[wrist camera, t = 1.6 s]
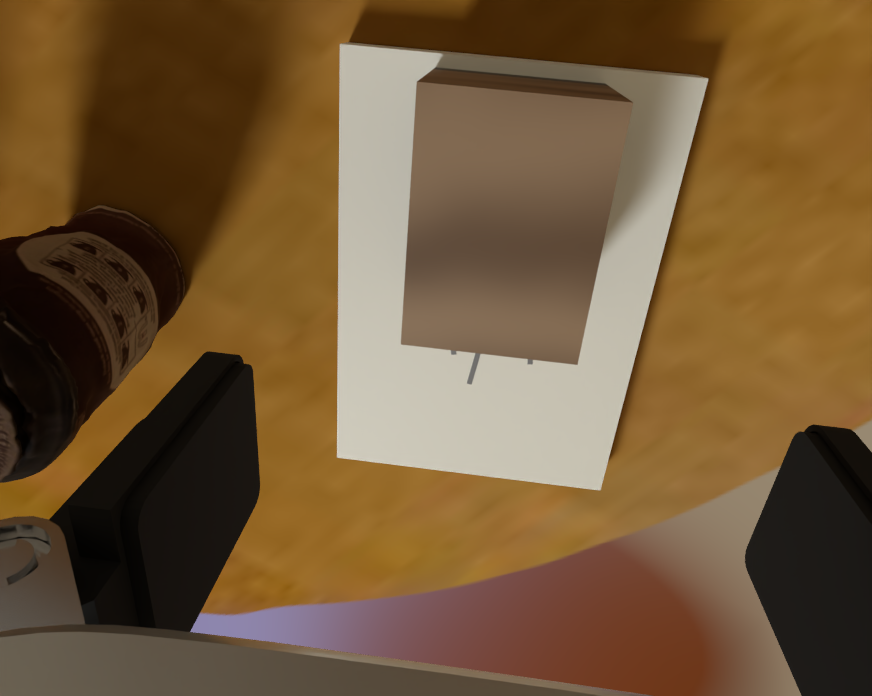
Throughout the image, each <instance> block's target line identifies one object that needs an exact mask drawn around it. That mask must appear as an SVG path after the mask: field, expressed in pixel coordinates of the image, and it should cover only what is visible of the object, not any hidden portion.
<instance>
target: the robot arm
mask: <svg viewBox="0 0 872 696" xmlns="http://www.w3.org/2000/svg"><path fill="white" fill-rule="evenodd" d="M259 490H260V477H259V461H258V445H257V429H256V412H255V396H254V380H253V369H252V367H251V365H249V364H244V363H243V360H242V357H241V356H240V355H234V354H225V353H217V352H206V353H204V354H203V355H202V356H201V357H200V358H199V360H198V361H197V362H196V363H195V364H194V365H193V366H192V367H191V368H190V369H189V371H188V372H187V373H186V374H185V375H184V376H183V377H182V378H181V379H180V380H179V382H178V383H177V384H176V385H175V386H174V387H173V388H172V389H171V390H170V391H169V393H168V394H167V395H166V396H165V397H164V398H163V399H162V400H161V401H160V402H159V404H158V405H157V406H156V407H155V408H154V409H153V410H152V411H151V412H150V413H149V415H148V416H147V417H146V418H145V419H143V420H141V421H140V422H139V423H138V424H136V426H135V427H134V428H133V429H132V430H131V431H130V432H129V433H128V434H127V435H126V436H125V438H124V439H123V440H122V441H121V442H120V443H119V444H118V445H117V446H116V447H115V448H114V450H113V451H112V452H111V453H110V454H109V455H108V456H107V457H106V458H105V459H104V460H103V462H102V463H101V464H100V465H99V466H98V467H97V468H96V469H95V470H94V471H93V472H92V474H91V475H90V476H89V477H88V478H87V479H86V480H85V481H84V482H83V483H82V484H81V486H80V487H79V488H78V489H77V490H76V491H75V492H74V493H73V494H72V495H71V496H70V498H69V499H68V500H67V501H66V502H65V503H64V504H63V505H62V506H61V507H60V508H59V510H58V511H57V512H56V513H55V514H54V515H53V516H52V517H51V518H50V519H49V520H48V519H44V518H39V517H34V516H28V517H12V518H7V519H3V520H0V696H650V695H644V694H637V693H629V692H622V691H616V690H609V689H602V688H595V687H588V686H582V685H575V684H568V683H561V682H553V681H547V680H540V679H533V678H525V677H518V676H512V675H505V674H498V673H491V672H484V671H477V670H470V669H462V668H456V667H449V666H442V665H434V664H427V663H419V662H413V661H406V660H398V659H391V658H384V657H377V656H369V655H362V654H355V653H348V652H339V651H333V650H326V649H319V648H311V647H304V646H296V645H290V644H282V643H275V642H266V641H258V640H250V639H242V638H233V637H226V636H217V635H210V634H209V635H208V634H201V633H193V632H190V631H191V629H192V627H193V625H194V623H195V621H196V619H197V617H198V615H199V613H200V612H201V610H202V608H203V606H204V604H205V602H206V600H207V598H208V596H209V594H210V592H211V590H212V588H213V586H214V584H215V583H216V581H217V579H218V577H219V575H220V573H221V571H222V569H223V567H224V565H225V563H226V561H227V559H228V557H229V556H230V554H231V552H232V550H233V548H234V546H235V544H236V542H237V540H238V538H239V536H240V534H241V532H242V530H243V529H244V527H245V525H246V523H247V521H248V519H249V517H250V515H251V513H252V511H253V509H254V507H255V505H256V503H257V500H258V496H259ZM745 563H746V568H747V571H748V574H749V576H750V578H751V581H752V583H753V585H754V588H755V590H756V592H757V594H758V597H759V599H760V601H761V604H762V606H763V608H764V610H765V613H766V615H767V617H768V620H769V622H770V624H771V626H772V629H773V631H774V633H775V636H776V638H777V640H778V642H779V645H780V647H781V649H782V652H783V654H784V656H785V659H786V661H787V663H788V665H789V667H790V670H791V672H792V675H793V677H794V679H795V681H796V684H797V686H798V688H799V691H800V693H801V695H802V696H872V452H871V451H870V450H869V449H868V448H867V446H866V445H865V444H864V443H863V442H862V441H861V439H860V438H859V437H858V436H857V435H856V433H855V432H853V431H852V430H850V429H846V428H837V427H829V426H821V425H811V426H809V427H808V428H807V429H806V430H805V432H798V433H797V434H796V435H795V436H794V437H793V439H792V441H791V444H790V446H789V449H788V451H787V453H786V456H785V458H784V460H783V463H782V465H781V468H780V470H779V472H778V475H777V477H776V480H775V482H774V484H773V487H772V489H771V492H770V494H769V496H768V499H767V501H766V504H765V506H764V508H763V510H762V513H761V515H760V518H759V520H758V523H757V525H756V527H755V529H754V532H753V534H752V537H751V539H750V542H749V544H748V546H747V549H746V554H745Z"/></svg>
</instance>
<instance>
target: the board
mask: <svg viewBox="0 0 872 696" xmlns="http://www.w3.org/2000/svg"><path fill="white" fill-rule="evenodd" d="M435 67H438V68H449V69H459V70H470V71H480V72H491V73H501V74H511V75H522V76H532V77H543V78H553V79H564V80H574V81H585V82H595V83H605V84H607V85H608V86H610V87H611V88H613V89H614V90H616V91H617V92H619V93H620V94H621V95H623V96H624V97H626V98H627V99H629V100H630V101H632V102H633V107H632V112H631V116H630V121H629V126H628V130H627V135H626V140H625V145H624V149H623V154H622V159H621V163H620V168H619V173H618V177H617V182H616V187H615V191H614V196H613V201H612V205H611V210H610V215H609V219H608V224H607V229H606V234H605V238H604V243H603V248H602V252H601V257H600V262H599V266H598V271H597V276H596V280H595V285H594V290H593V294H592V299H591V304H590V308H589V313H588V318H587V323H586V327H585V332H584V337H583V341H582V346H581V351H580V355H579V360H578V365H573V364H565V363H556V362H548V361H539V360H530V359H522V358H513V357H504V356H496V355H487V354H479V353H470V352H461V351H453V350H444V349H435V348H427V347H418V346H410V345H401V331H402V315H403V298H404V282H405V266H406V249H407V233H408V216H409V200H410V184H411V167H412V151H413V134H414V118H415V102H416V85H417V81H418V80H420V79H421V78H422V77H424V76H425V75H426V74H427V73H429V72H430V71H431V70H433V69H434V68H435ZM707 83H708V78H705V77H702V76H699V75H691V74H681V73H670V72H659V71H649V70H638V69H627V68H617V67H606V66H596V65H585V64H574V63H564V62H553V61H542V60H532V59H521V58H510V57H500V56H489V55H479V54H468V53H457V52H447V51H436V50H425V49H415V48H404V47H394V46H383V45H372V44H362V43H351V42H347V43H342V44H340V101H339V245H338V390H337V458H345V459H353V460H361V461H369V462H377V463H385V464H393V465H401V466H409V467H417V468H425V469H433V470H441V471H449V472H457V473H465V474H473V475H481V476H489V477H497V478H505V479H513V480H521V481H529V482H537V483H545V484H553V485H561V486H569V487H577V488H585V489H593V490H601V486H602V482H603V478H604V475H605V471H606V467H607V463H608V459H609V455H610V452H611V448H612V444H613V440H614V436H615V433H616V429H617V425H618V421H619V417H620V414H621V410H622V406H623V402H624V398H625V395H626V391H627V387H628V383H629V379H630V376H631V372H632V368H633V364H634V360H635V357H636V353H637V349H638V345H639V341H640V338H641V334H642V330H643V326H644V322H645V319H646V315H647V311H648V307H649V303H650V300H651V296H652V292H653V288H654V284H655V281H656V277H657V273H658V269H659V265H660V261H661V258H662V254H663V250H664V246H665V242H666V239H667V235H668V231H669V227H670V223H671V220H672V216H673V212H674V208H675V204H676V201H677V197H678V193H679V189H680V185H681V182H682V178H683V174H684V170H685V166H686V163H687V159H688V155H689V151H690V147H691V144H692V140H693V136H694V132H695V128H696V125H697V121H698V117H699V113H700V109H701V106H702V102H703V98H704V94H705V90H706V86H707Z"/></svg>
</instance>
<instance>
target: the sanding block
mask: <svg viewBox="0 0 872 696" xmlns="http://www.w3.org/2000/svg"><path fill="white" fill-rule="evenodd" d="M632 107H633V102H632V101H630V100H629V99H627V98H626V97H624V96H623V95H621V94H620V93H619V92H617V91H616V90H614V89H613V88H611V87H610V86H608V85H607V84H605V83H595V82H585V81H574V80H564V79H553V78H543V77H532V76H522V75H511V74H501V73H491V72H480V71H470V70H459V69H449V68H438V67H435V68H434V69H433V70H431V71H430V72H429V73H427V74H426V75H425V76H424V77H422V78H421V79H420V80H418V81H417V85H416V102H415V118H414V134H413V151H412V167H411V184H410V200H409V216H408V233H407V249H406V266H405V282H404V298H403V315H402V331H401V345H410V346H418V347H427V348H435V349H444V350H453V351H461V352H470V353H479V354H487V355H496V356H504V357H513V358H522V359H530V360H539V361H548V362H556V363H565V364H573V365H578V360H579V355H580V351H581V346H582V341H583V337H584V332H585V327H586V323H587V318H588V313H589V308H590V304H591V299H592V294H593V290H594V285H595V280H596V276H597V271H598V266H599V262H600V257H601V252H602V248H603V243H604V238H605V234H606V229H607V224H608V219H609V215H610V210H611V205H612V201H613V196H614V191H615V187H616V182H617V177H618V173H619V168H620V163H621V159H622V154H623V149H624V145H625V140H626V135H627V130H628V126H629V121H630V116H631V112H632Z"/></svg>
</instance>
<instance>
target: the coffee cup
mask: <svg viewBox="0 0 872 696" xmlns="http://www.w3.org/2000/svg"><path fill="white" fill-rule="evenodd" d="M184 291H185V282H184V277H183V272H182V269H181V266H180V263H179V260H178V257H177V255H176V253H175V252H174V250H173V249H172V247H171V246H170V245H169V244H168V242H167V241H166V240H165V239H164V238H163V237H162V236H161V235H160V234H159V233H158V232H157V231H156V230H155V229H154V228H153V227H152V226H150V225H149V224H147V223H145V222H144V221H142V220H141V219H139V218H137V217H136V216H134V215H133V214H131V213H129V212H127V211H122V210H117V209H113V208H111V207H107V206H105V205H103V206H101V205H98V206H96V207H93V208H91V209H89V210H87V211H85V212H80V213H78V214H75V215H74V217H73V218H72V219H71V220H70V221H69V222H68V223H67V224H66V225H65V226H58V227H55V226H50V227H49V228H47V229H46V230H43V231H40V232H37V233H34V234H31V235H29V236H27V237H26V236H19V237H10V238H6V239H2V240H0V483H1V482H9V481H14V480H18V479H23V478H26V477H28V476H32V475H34V474H36V473H38V472H40V471H42V470H43V469H45V468H46V467H47V466H48V465H50V464H51V463H52V462H53V461H54V460H55V459H56V458H57V457H58V456H59V455H60V454H61V453H62V452H63V451H64V450H65V449H66V448H67V446H68V445H69V444H70V443H71V442H72V441H73V439H74V438H75V436H76V434H77V432H78V431H79V429H80V427H81V426H82V425H83V424H84V423H85V422H86V421H87V420H88V419H89V417H90V416H91V414H92V413H93V412H94V411H95V409H97V408H98V407H99V406H100V404H101V403H102V402H103V401H104V400H105V399H106V398H107V397H108V396H109V395H111V394H112V393H113V392H114V391H115V390H116V388H117V387H118V386H119V384H120V383H121V382H122V381H123V380H124V378H125V377H126V376H127V375H128V373H129V372H130V371H131V370H132V369H133V368H134V367H135V366H136V364H137V363H138V362H139V361H140V360H141V359H142V358H143V357H144V356H145V354H146V353H147V352H148V351H149V349H150V348H151V345H152V343H153V341H154V338H155V336H156V334H157V332H158V331H159V330H160V329H161V328H162V327H163V326H164V325H166V324H167V323H168V322H169V321H170V319H171V318H172V317H173V316H174V314H175V313H176V311H177V309H178V307H179V306H180V304H181V302H182V300H183V297H184Z"/></svg>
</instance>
